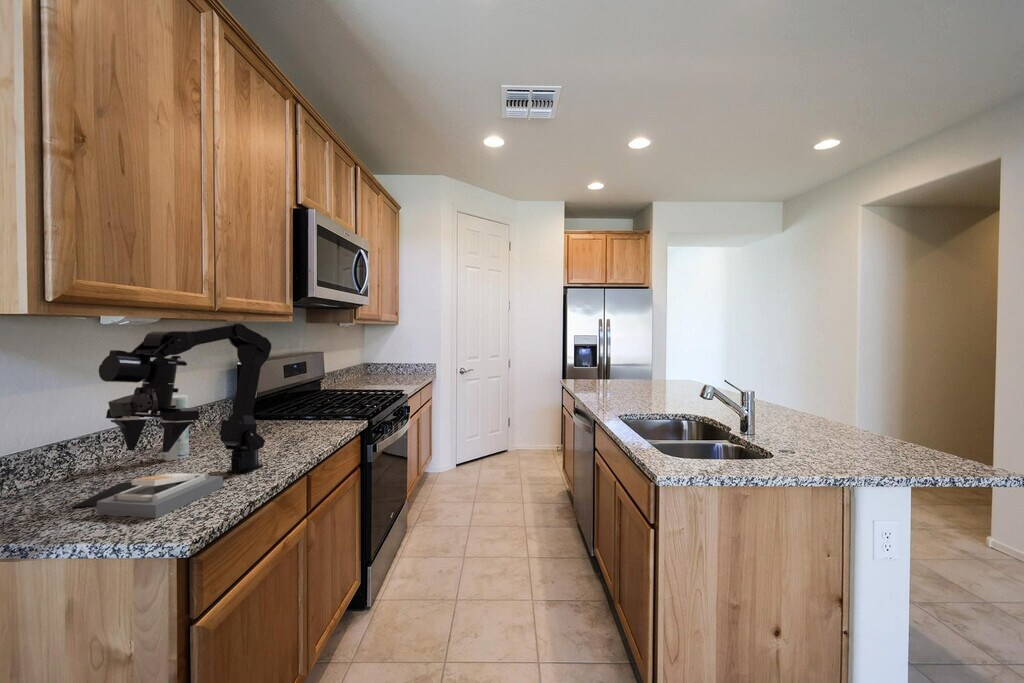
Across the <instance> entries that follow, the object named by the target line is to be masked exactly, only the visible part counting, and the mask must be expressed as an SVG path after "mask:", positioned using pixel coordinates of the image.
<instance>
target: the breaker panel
mask: <svg viewBox="0 0 1024 683" xmlns="http://www.w3.org/2000/svg"><path fill="white" fill-rule="evenodd" d="M181 473H182V474H195V478H194V479H192V480H186V481H181V482H175V483H169V484H164V485H158V486H141V485H140V486H137V487H134V488H132V489H129V490H126V491H123V492H121V493H118V494H115V495H114V496H111V497H108V498H105V499H103V500H100V501H97V507H96V515H97V514H98V515H97V516H104V515H114V516H113V517H120V516H131V517H130V518H136V517H141V519H151V518H155V520H156V518H157V519H159V518H161V517H163V516H165V515H167V514H169V512H170V513H171V511H172V512H174V511H176V510H178V509H180V508H182V506H183V507H184V505H185V506H187V505H189V504H191V503H193V502H195V501H197V500H196V499H198V498H200V499H202V498H203V497H202V496H204V497H205V495H206V496H208V495H210V494H209V493H211V492H213V491H215V492H217V491H219V490H221V489H223V488H224V476H220V475H210V474H209V473H208V474H207V473H190V472H189V473H188V472H181ZM222 487H223V488H222ZM220 488H221V489H220ZM218 489H219V490H218ZM216 490H217V491H216ZM213 493H214V492H213ZM207 494H208V495H207ZM211 494H212V493H211ZM201 497H202V498H201ZM194 500H195V501H194ZM198 500H199V499H198ZM192 501H193V502H192ZM190 502H191V503H190ZM188 503H189V504H188ZM186 504H187V505H186ZM175 509H176V510H175ZM173 510H174V511H173ZM160 516H161V517H160ZM158 517H159V518H158Z"/></svg>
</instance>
